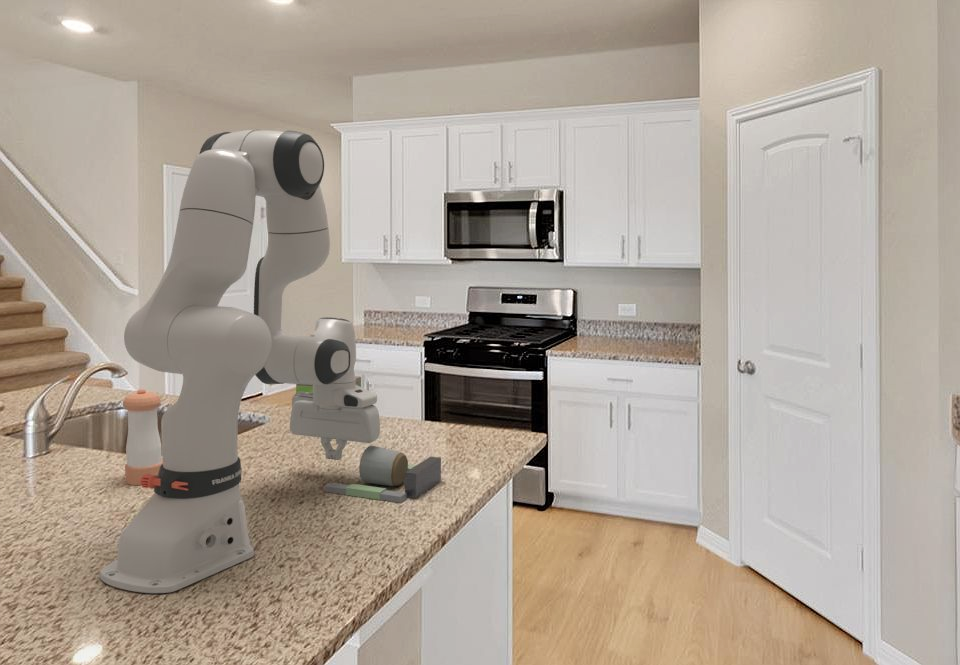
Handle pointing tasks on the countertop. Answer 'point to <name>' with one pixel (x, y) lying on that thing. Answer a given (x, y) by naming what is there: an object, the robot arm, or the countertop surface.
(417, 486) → the dark grey rectangular block
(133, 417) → the pepper shaker
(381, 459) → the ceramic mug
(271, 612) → the countertop surface
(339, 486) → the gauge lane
